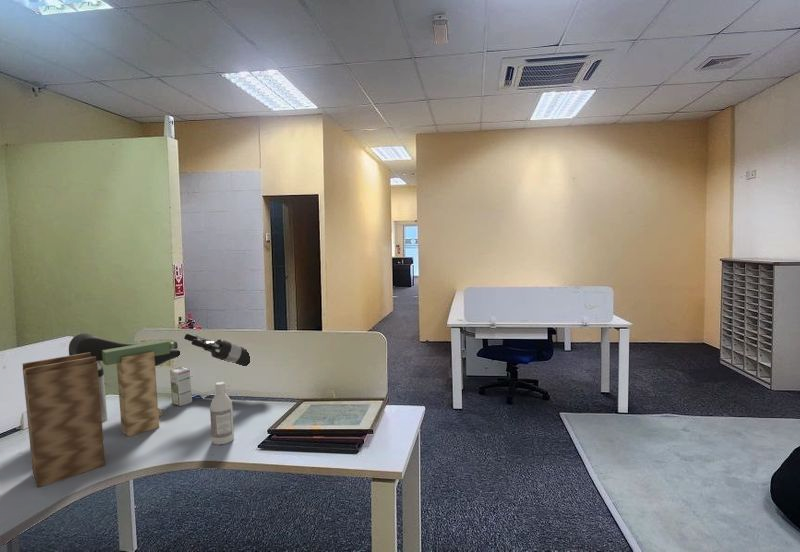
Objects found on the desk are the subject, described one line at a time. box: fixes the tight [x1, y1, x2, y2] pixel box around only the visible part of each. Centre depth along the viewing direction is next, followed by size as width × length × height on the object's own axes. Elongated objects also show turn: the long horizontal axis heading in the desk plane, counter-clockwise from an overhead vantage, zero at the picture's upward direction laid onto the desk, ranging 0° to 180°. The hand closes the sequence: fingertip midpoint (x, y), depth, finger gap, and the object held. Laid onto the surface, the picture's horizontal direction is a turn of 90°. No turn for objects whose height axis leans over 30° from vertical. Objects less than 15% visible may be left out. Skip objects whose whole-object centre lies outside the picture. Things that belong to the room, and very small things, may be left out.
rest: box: [116, 352, 160, 437], centre depth 156 cm, size 10×8×28 cm
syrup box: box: [169, 366, 193, 407], centre depth 180 cm, size 6×6×14 cm
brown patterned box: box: [22, 352, 106, 488], centre depth 128 cm, size 16×10×34 cm, turn 136°
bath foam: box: [209, 381, 235, 446], centre depth 146 cm, size 7×7×20 cm
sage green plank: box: [102, 339, 179, 366], centre depth 156 cm, size 23×4×4 cm, turn 136°
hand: (188, 338), depth 166 cm, fingers open, 8 cm apart
